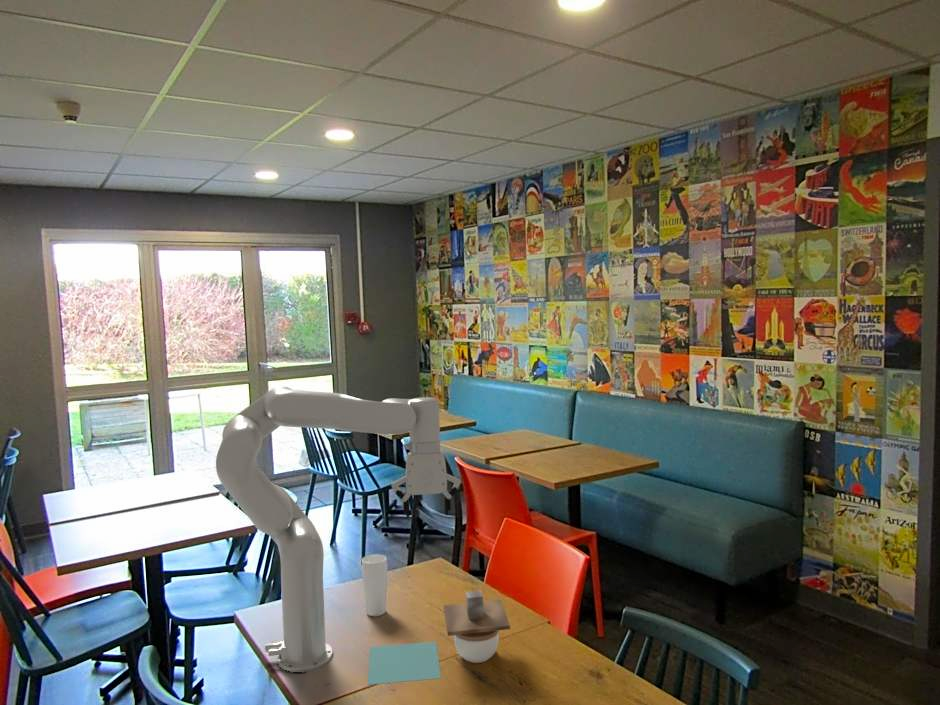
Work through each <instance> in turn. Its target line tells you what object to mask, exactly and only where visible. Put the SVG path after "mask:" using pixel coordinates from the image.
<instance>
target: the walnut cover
mask: <svg viewBox="0 0 940 705" xmlns="http://www.w3.org/2000/svg"><path fill="white" fill-rule="evenodd" d="M465 598H466V602H465V603H464V602H463V603H457V604H449V605H448V604H446V605H443V612H444V619H445V627H446V632H447V636H448V637H449V636H454V635H460V634H470V633H479V632H488V631H497V630H499V631H503V630H505V631H506V630H510V629H511V624H510V622H509V618H508V616H507V613H506V611H505V608H504V605H503V603H502V600H501V599H493V600H484V596H483V593H482V590H470V591H465Z"/></svg>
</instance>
